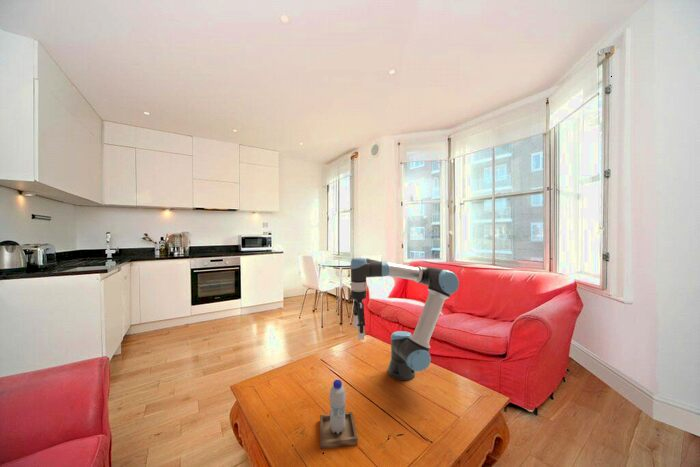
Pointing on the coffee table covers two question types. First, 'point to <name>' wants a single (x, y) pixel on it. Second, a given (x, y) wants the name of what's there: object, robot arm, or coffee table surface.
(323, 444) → the tray
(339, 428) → the bottle
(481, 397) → the coffee table surface
